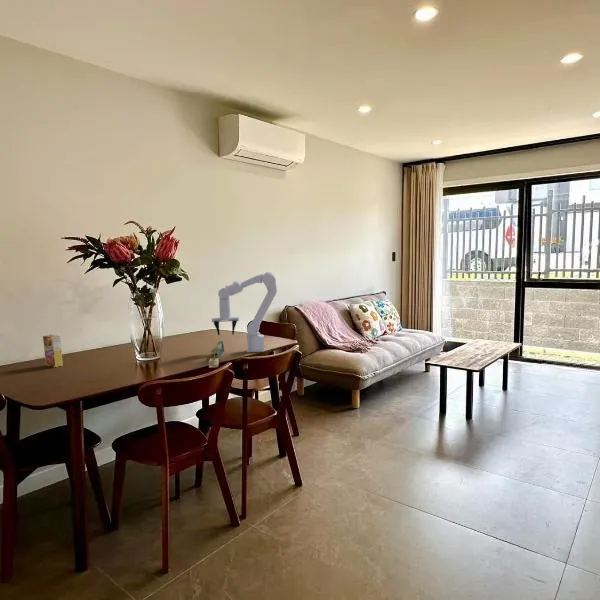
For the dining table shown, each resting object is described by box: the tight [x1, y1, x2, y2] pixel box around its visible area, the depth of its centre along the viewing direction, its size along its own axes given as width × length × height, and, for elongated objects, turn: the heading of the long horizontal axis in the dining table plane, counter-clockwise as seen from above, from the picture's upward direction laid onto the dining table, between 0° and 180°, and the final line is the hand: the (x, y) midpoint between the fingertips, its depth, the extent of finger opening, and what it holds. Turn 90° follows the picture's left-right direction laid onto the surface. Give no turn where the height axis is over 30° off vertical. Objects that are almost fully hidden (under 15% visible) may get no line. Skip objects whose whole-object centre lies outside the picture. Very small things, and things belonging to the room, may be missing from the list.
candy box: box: [42, 334, 64, 368], centre depth 226 cm, size 9×4×15 cm, turn 57°
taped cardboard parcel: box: [208, 343, 220, 368], centre depth 237 cm, size 4×42×3 cm, turn 5°
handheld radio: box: [213, 340, 225, 360], centre depth 237 cm, size 7×3×25 cm
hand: (225, 334), depth 249 cm, fingers open, 7 cm apart
